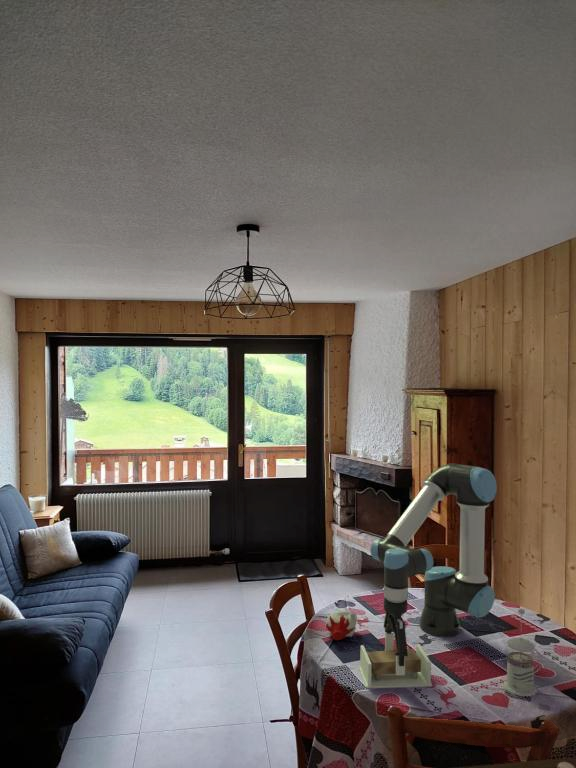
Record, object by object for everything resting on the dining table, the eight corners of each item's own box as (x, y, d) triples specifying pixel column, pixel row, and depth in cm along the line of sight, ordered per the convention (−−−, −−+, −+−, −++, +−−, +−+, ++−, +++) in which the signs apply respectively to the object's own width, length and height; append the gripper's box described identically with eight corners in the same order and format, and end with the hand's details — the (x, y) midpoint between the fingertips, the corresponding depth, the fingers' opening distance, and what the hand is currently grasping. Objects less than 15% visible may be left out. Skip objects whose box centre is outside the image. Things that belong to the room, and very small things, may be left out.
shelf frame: (420, 666, 186) (420, 644, 186) (432, 686, 174) (432, 662, 174) (358, 668, 184) (359, 645, 184) (366, 688, 172) (366, 664, 172)
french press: (497, 679, 178) (499, 602, 178) (532, 678, 179) (533, 601, 179) (512, 697, 168) (514, 616, 168) (549, 695, 169) (550, 615, 169)
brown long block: (372, 675, 174) (372, 662, 174) (366, 664, 181) (366, 652, 181) (420, 671, 177) (421, 659, 177) (412, 660, 184) (412, 648, 184)
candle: (357, 627, 213) (353, 651, 198) (328, 624, 215) (322, 647, 200) (357, 606, 211) (354, 628, 197) (328, 603, 214) (322, 624, 199)
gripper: (375, 584, 191) (374, 644, 191) (394, 615, 166) (393, 685, 166) (396, 583, 191) (395, 644, 192) (418, 614, 167) (417, 684, 167)
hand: (394, 663), depth 179 cm, fingers open, 13 cm apart
